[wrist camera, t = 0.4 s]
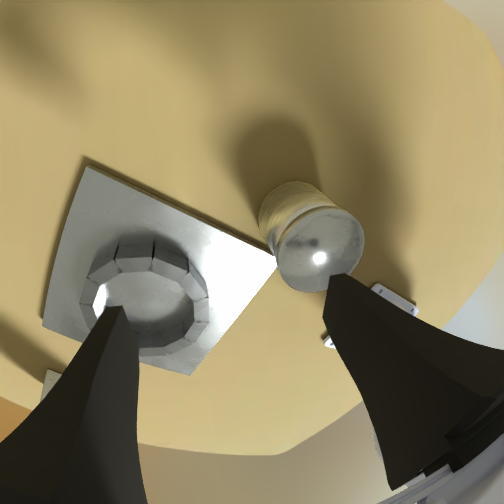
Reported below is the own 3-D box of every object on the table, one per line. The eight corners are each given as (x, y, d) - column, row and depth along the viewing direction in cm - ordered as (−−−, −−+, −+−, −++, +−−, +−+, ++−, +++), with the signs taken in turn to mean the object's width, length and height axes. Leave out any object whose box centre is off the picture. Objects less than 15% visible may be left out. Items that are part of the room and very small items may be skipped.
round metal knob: (340, 202, 20) (380, 236, 16) (297, 258, 22) (326, 302, 17) (285, 164, 18) (319, 191, 13) (240, 229, 19) (259, 274, 15)
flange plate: (278, 255, 21) (288, 273, 19) (189, 370, 26) (191, 389, 24) (89, 164, 15) (77, 174, 13) (43, 321, 19) (36, 340, 17)
